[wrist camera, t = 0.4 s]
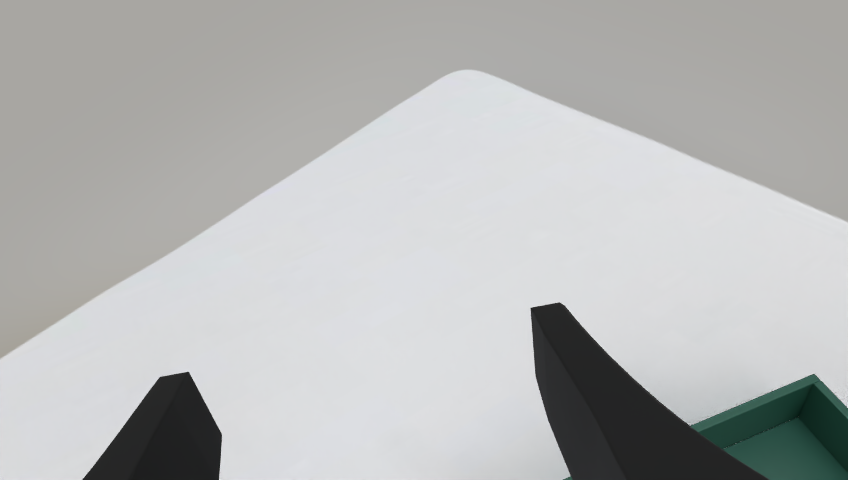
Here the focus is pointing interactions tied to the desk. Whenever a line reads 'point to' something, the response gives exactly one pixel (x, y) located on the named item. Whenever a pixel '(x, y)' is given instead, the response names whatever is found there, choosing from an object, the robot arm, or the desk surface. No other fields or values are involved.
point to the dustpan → (786, 433)
